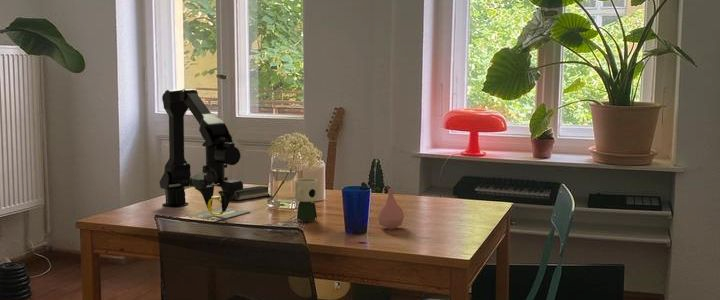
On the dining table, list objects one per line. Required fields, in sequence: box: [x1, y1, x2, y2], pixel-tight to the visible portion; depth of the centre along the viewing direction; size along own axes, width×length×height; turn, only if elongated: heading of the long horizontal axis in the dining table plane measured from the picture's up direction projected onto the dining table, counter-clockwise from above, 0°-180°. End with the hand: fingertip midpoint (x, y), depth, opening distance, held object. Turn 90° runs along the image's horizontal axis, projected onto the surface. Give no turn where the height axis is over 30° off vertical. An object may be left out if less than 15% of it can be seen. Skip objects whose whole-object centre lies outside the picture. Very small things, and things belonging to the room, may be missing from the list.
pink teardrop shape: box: [377, 187, 405, 230], centre depth 225 cm, size 8×8×12 cm
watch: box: [207, 195, 224, 215], centre depth 241 cm, size 6×3×6 cm, turn 65°
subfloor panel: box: [182, 206, 251, 221], centre depth 243 cm, size 13×22×1 cm, turn 145°
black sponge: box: [231, 185, 269, 201], centre depth 274 cm, size 16×8×4 cm, turn 131°
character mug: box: [294, 177, 319, 222], centre depth 235 cm, size 11×7×13 cm, turn 156°
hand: (216, 210), depth 242 cm, fingers closed on watch, 6 cm apart
